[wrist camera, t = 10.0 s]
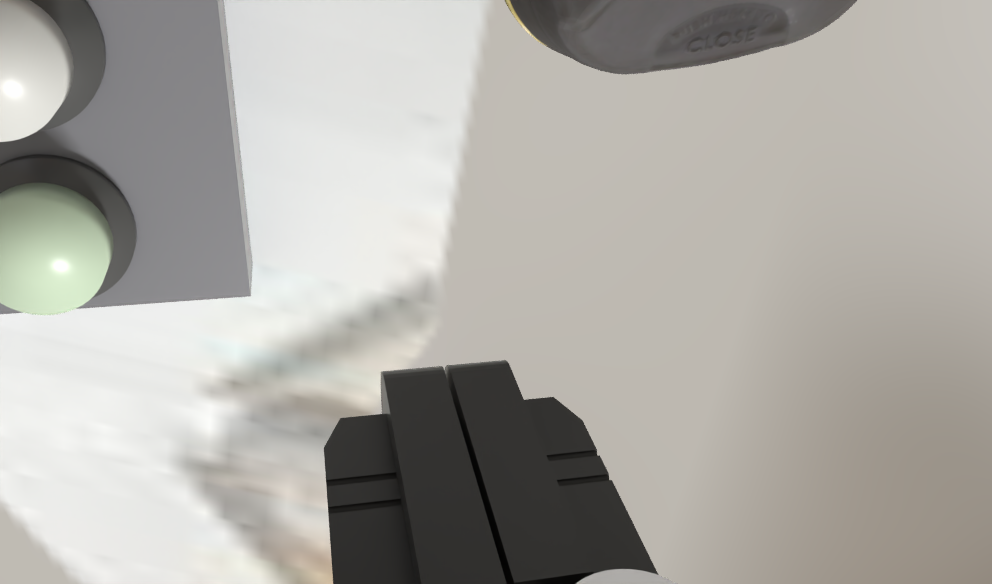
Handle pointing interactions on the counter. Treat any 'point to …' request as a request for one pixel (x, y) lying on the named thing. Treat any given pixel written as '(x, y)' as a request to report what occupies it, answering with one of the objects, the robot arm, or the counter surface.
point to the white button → (30, 68)
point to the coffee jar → (669, 29)
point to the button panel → (148, 147)
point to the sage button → (51, 249)
